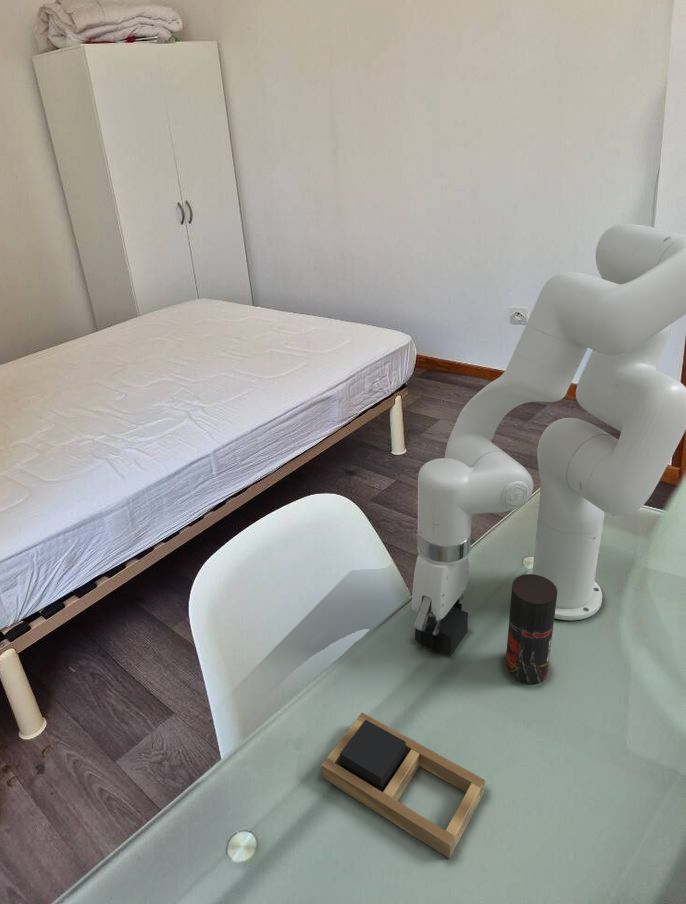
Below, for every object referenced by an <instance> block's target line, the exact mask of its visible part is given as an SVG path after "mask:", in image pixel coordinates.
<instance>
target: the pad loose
mask: <svg viewBox="0 0 686 904" xmlns="http://www.w3.org/2000/svg"><path fill="white" fill-rule="evenodd" d="M427 623H429V624H431V625H433V626H434V623H435V618H432V617H430V616H429V617H428V620H427ZM468 624H469V612H468V611H465V610H463V609H462V610H460V609H458V608H455V607H452V608H451V609H450V610H449V612H448V613H447V614H446V616H445V617H444V618H443V619H441V624H440V629H439V630H440V631H441V632H442V637H441V651H440V653H441V654H443V655H446V656H448V657H451V656H452V655H453V653H454V652H455V650H457V647H458V646H459V645H460V643H461V642H462V640H463V639H464V637H465V636H466V635H467V633H468V627H469V625H468ZM414 641H415V642H417V643H420V644H421V631H420V630H418V629H416V628H414Z"/></svg>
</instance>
